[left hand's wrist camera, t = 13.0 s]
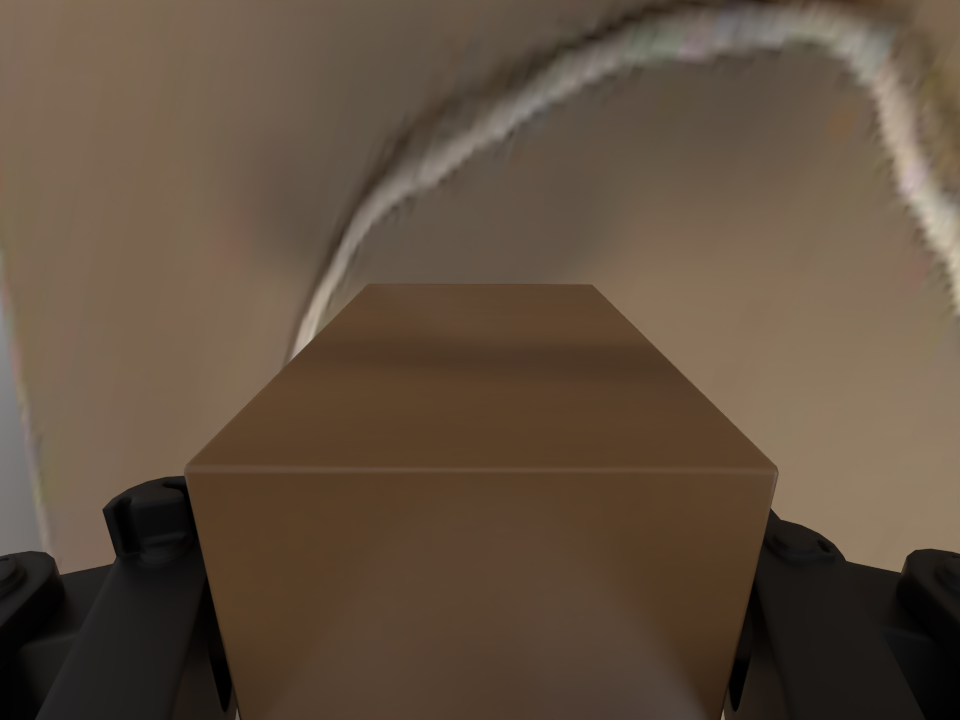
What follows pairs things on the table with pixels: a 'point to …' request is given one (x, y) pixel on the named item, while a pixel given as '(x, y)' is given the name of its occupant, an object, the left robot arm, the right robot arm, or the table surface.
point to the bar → (480, 518)
